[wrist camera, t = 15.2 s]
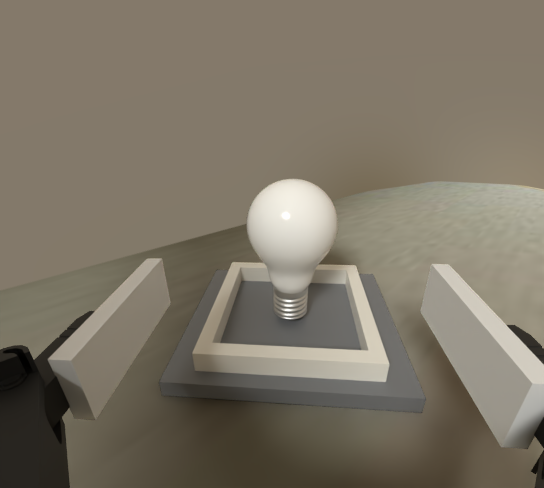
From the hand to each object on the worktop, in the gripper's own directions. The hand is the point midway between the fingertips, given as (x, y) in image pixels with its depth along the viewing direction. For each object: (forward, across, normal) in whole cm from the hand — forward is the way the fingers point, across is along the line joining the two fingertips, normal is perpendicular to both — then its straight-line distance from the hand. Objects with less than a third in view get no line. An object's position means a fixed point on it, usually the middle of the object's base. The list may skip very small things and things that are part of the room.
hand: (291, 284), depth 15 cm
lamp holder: (+7, 0, -9) cm, 11 cm away
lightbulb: (+7, 0, -8) cm, 10 cm away
